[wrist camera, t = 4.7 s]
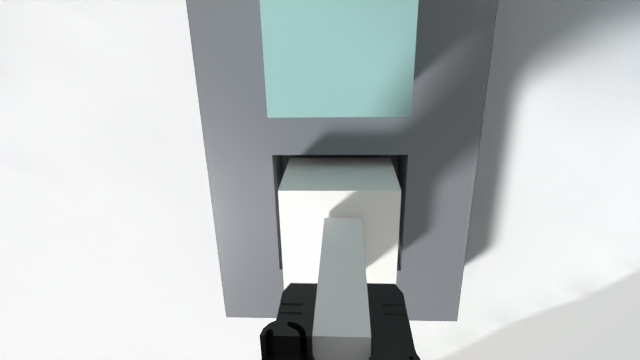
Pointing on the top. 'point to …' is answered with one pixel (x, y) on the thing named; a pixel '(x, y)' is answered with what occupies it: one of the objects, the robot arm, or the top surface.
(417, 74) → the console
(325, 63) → the button teal
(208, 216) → the top surface
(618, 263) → the top surface
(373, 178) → the button white
